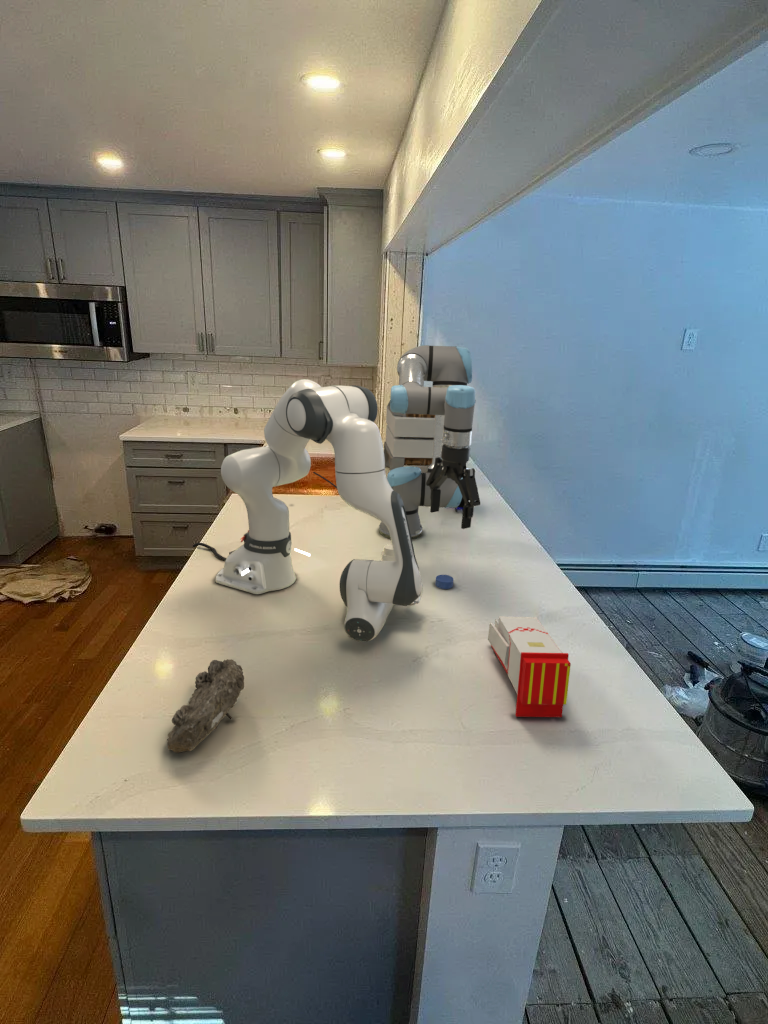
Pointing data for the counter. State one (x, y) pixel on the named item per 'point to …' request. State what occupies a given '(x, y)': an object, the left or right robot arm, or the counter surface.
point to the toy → (531, 665)
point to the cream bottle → (388, 553)
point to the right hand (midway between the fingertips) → (449, 519)
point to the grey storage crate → (408, 439)
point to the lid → (444, 581)
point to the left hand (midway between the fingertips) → (389, 574)
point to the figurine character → (460, 505)
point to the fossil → (206, 705)
